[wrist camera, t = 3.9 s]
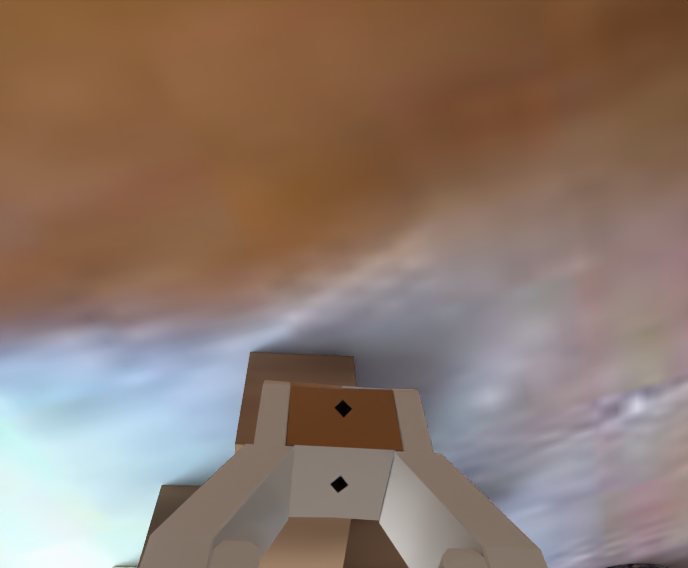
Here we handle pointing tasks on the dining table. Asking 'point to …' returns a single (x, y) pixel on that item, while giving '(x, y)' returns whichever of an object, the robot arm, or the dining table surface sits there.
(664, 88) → the dining table surface
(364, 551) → the t block
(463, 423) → the dining table surface
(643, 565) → the rusty oil barrel
